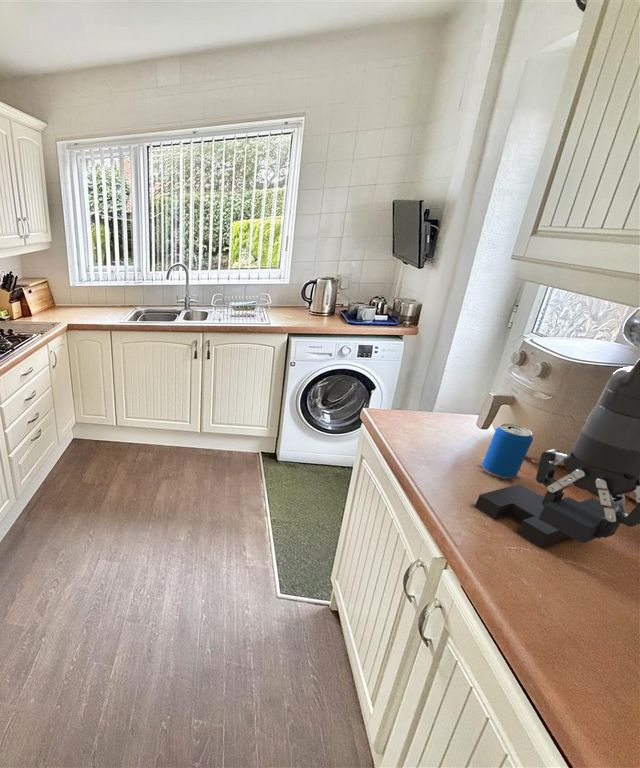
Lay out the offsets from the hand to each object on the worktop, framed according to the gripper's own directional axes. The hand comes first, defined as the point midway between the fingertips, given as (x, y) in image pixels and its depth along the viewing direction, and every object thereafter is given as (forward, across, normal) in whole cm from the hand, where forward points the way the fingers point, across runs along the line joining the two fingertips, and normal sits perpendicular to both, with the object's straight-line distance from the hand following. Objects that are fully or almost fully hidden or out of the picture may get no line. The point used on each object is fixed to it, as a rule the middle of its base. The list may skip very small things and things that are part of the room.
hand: (573, 521), depth 67 cm
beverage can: (+11, +23, -23) cm, 34 cm away
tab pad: (+1, 0, -2) cm, 2 cm away
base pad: (+11, +10, -11) cm, 18 cm away
